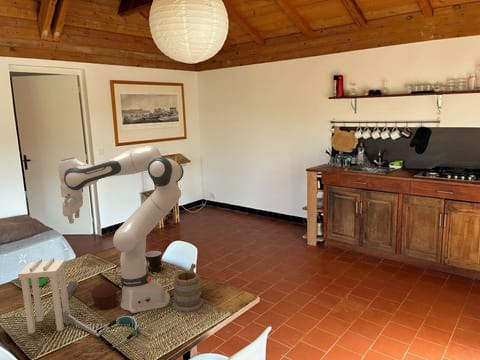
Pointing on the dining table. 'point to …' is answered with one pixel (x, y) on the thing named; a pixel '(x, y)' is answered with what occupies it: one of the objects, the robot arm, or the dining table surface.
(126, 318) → the sunglasses
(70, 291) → the pin
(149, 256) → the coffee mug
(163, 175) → the robot arm
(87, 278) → the dining table surface
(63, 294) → the pin stand
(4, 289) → the dining table surface
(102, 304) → the muffin
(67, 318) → the caliper
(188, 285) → the tankard
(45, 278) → the fruit basket
